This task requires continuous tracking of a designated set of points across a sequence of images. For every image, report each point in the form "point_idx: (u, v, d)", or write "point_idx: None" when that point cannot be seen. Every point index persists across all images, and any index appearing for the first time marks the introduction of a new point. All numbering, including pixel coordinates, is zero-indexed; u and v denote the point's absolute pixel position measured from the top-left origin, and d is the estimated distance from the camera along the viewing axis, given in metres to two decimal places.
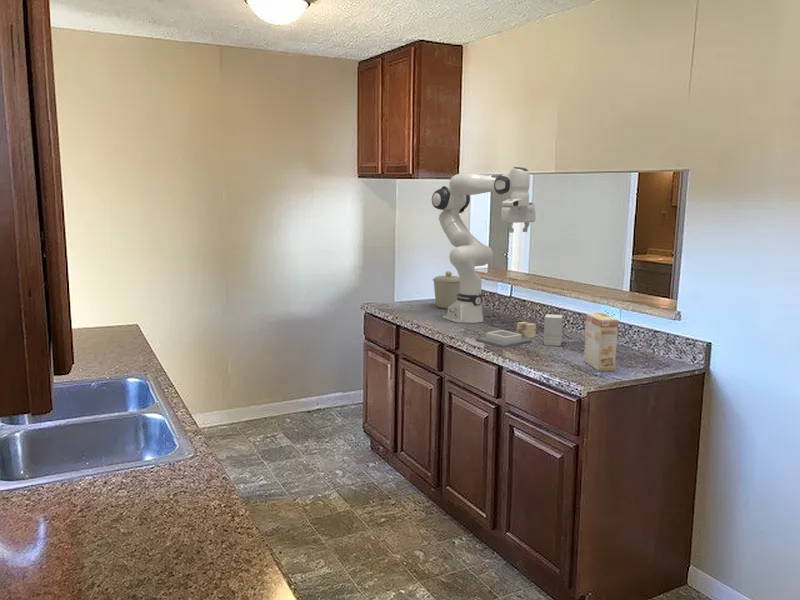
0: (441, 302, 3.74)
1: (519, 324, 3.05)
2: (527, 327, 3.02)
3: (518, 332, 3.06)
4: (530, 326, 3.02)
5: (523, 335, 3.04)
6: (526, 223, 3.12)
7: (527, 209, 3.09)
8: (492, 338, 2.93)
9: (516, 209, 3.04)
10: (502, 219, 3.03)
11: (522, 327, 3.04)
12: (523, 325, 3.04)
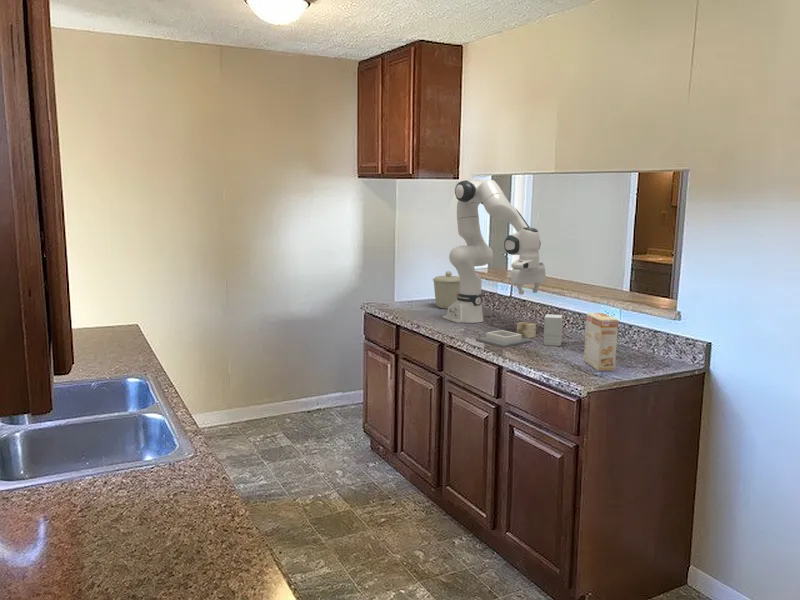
0: (441, 302, 3.74)
1: (519, 324, 3.05)
2: (527, 327, 3.02)
3: (518, 332, 3.06)
4: (530, 326, 3.02)
5: (523, 335, 3.04)
6: (536, 284, 3.05)
7: (537, 270, 3.02)
8: (492, 338, 2.93)
9: (526, 271, 2.97)
10: (512, 281, 2.96)
11: (522, 327, 3.04)
12: (523, 325, 3.04)
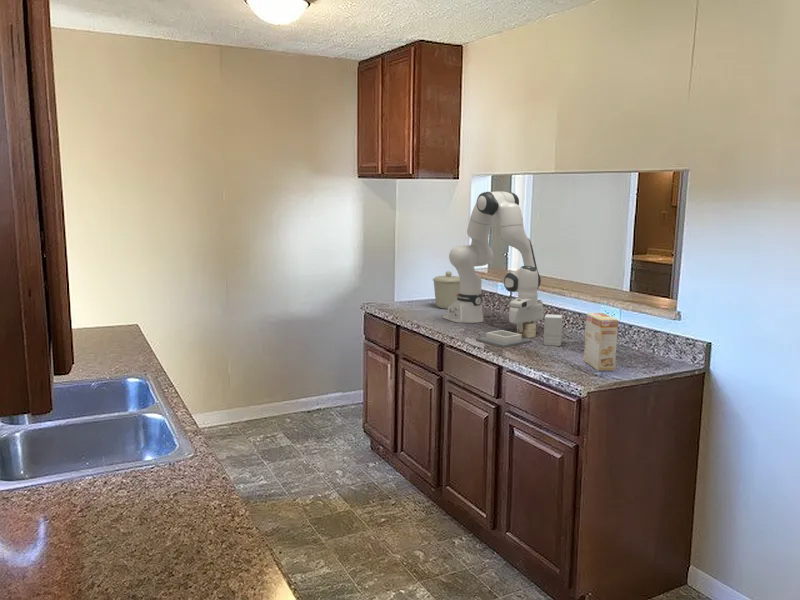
0: (441, 302, 3.74)
1: None
2: (527, 327, 3.02)
3: (518, 332, 3.06)
4: (530, 326, 3.02)
5: (523, 335, 3.04)
6: (532, 321, 3.07)
7: (535, 308, 3.05)
8: (492, 338, 2.93)
9: (524, 309, 3.00)
10: (510, 320, 2.99)
11: None
12: (523, 325, 3.04)
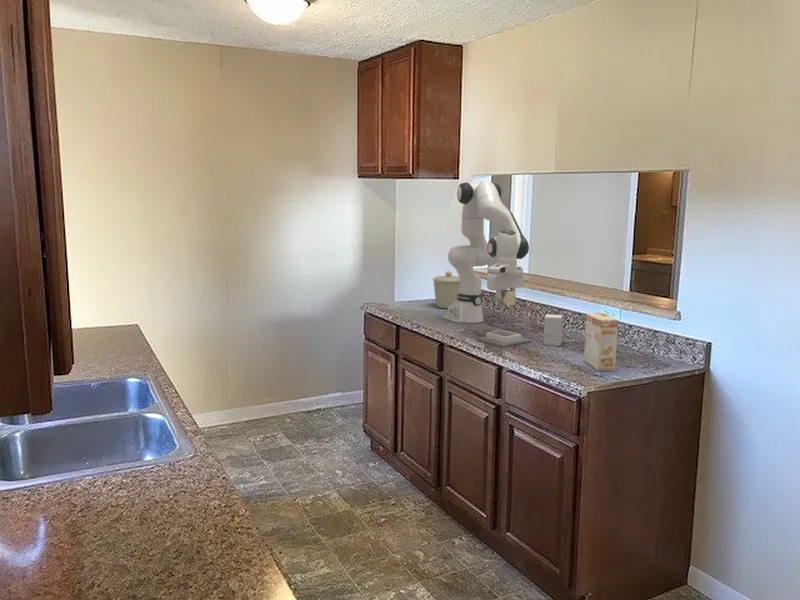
0: (441, 302, 3.74)
1: None
2: (506, 294, 2.87)
3: (497, 300, 2.92)
4: (509, 293, 2.87)
5: (502, 303, 2.90)
6: (512, 289, 2.93)
7: (515, 274, 2.91)
8: (492, 338, 2.93)
9: (503, 275, 2.85)
10: (488, 286, 2.85)
11: None
12: (502, 292, 2.89)
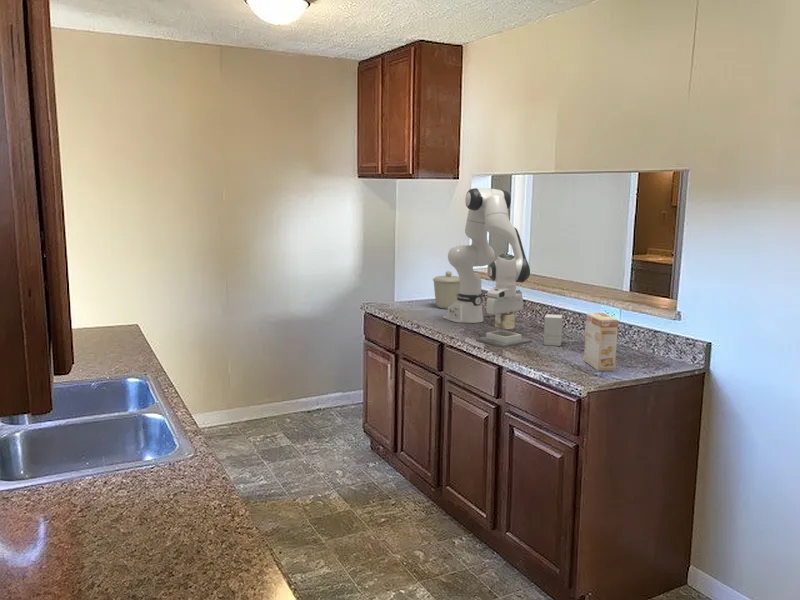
0: (441, 302, 3.74)
1: None
2: (505, 318, 2.89)
3: (496, 323, 2.93)
4: (508, 317, 2.89)
5: (501, 326, 2.91)
6: (511, 312, 2.94)
7: (514, 298, 2.92)
8: (492, 338, 2.93)
9: (502, 300, 2.87)
10: (487, 310, 2.86)
11: None
12: (501, 316, 2.91)
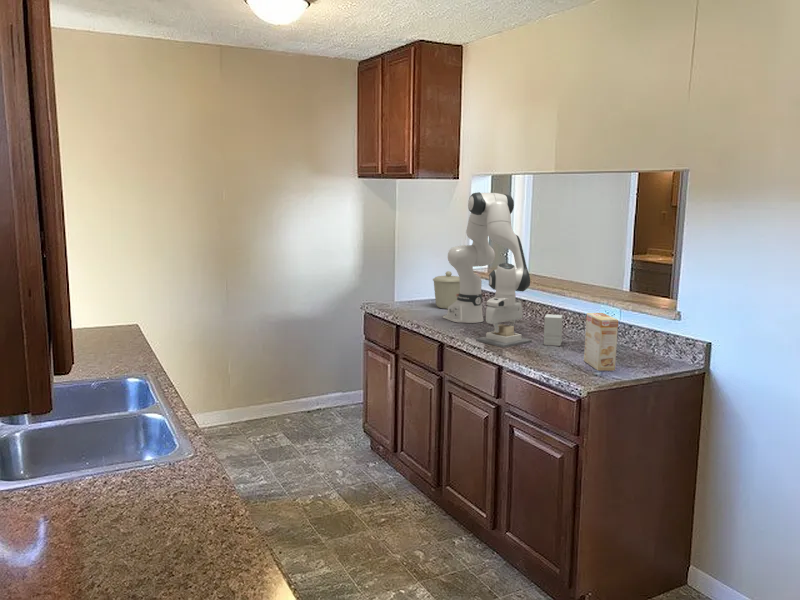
0: (441, 302, 3.74)
1: None
2: (504, 330, 2.90)
3: None
4: (508, 329, 2.90)
5: None
6: (512, 321, 2.96)
7: (513, 307, 2.93)
8: (492, 338, 2.93)
9: (502, 309, 2.88)
10: (487, 319, 2.87)
11: None
12: (500, 328, 2.92)
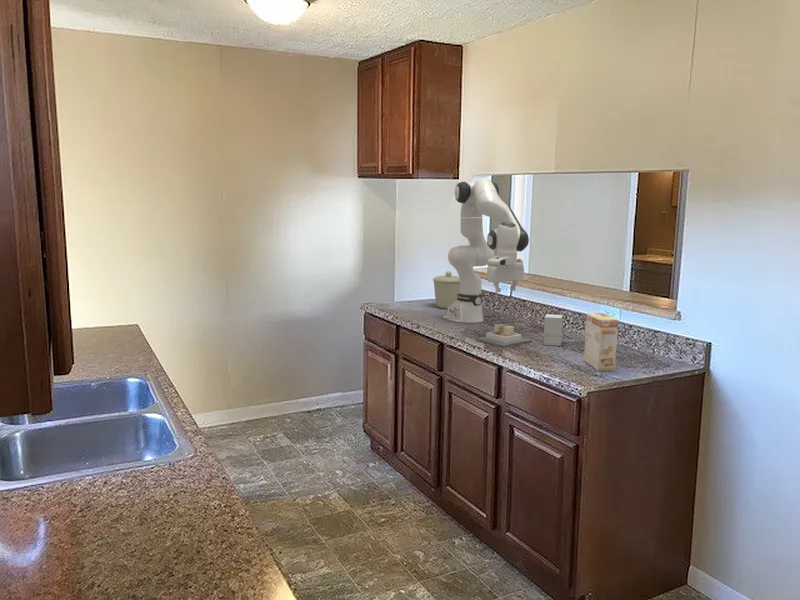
0: (441, 302, 3.74)
1: (496, 327, 2.93)
2: (504, 330, 2.90)
3: None
4: (508, 329, 2.90)
5: None
6: (514, 281, 2.93)
7: (515, 267, 2.90)
8: (492, 338, 2.93)
9: (503, 268, 2.85)
10: (488, 278, 2.84)
11: (499, 330, 2.92)
12: (500, 328, 2.92)
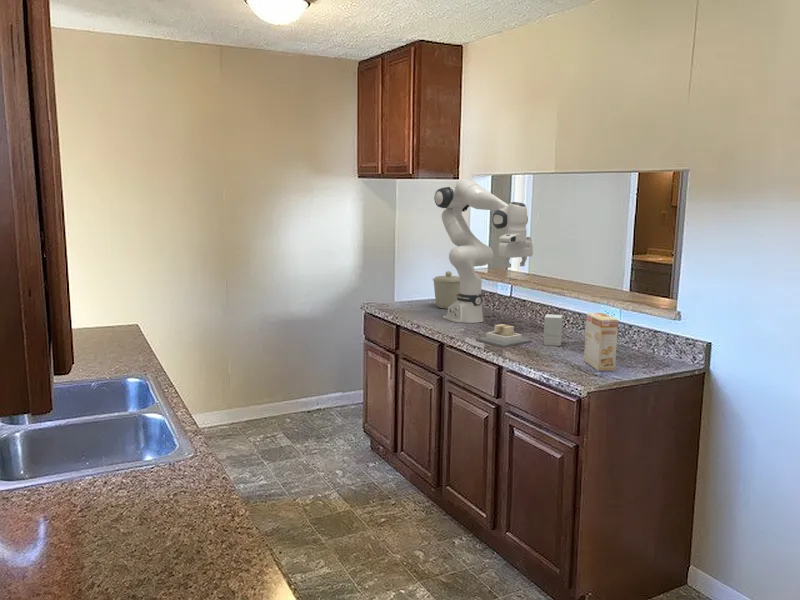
0: (441, 302, 3.74)
1: (496, 327, 2.93)
2: (504, 330, 2.90)
3: None
4: (508, 329, 2.90)
5: None
6: (523, 257, 3.12)
7: (524, 244, 3.09)
8: (492, 338, 2.93)
9: (513, 244, 3.04)
10: (499, 254, 3.04)
11: (499, 330, 2.92)
12: (500, 328, 2.92)
